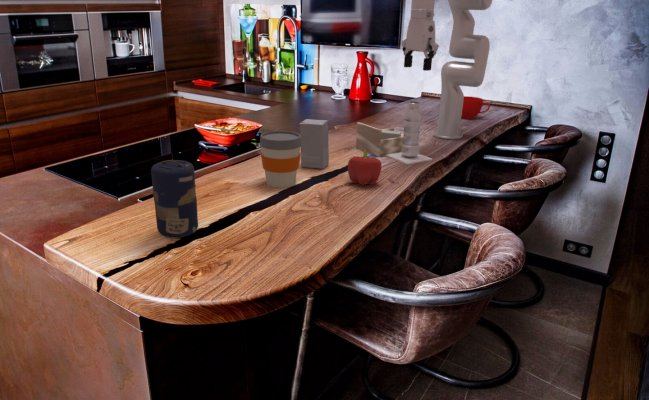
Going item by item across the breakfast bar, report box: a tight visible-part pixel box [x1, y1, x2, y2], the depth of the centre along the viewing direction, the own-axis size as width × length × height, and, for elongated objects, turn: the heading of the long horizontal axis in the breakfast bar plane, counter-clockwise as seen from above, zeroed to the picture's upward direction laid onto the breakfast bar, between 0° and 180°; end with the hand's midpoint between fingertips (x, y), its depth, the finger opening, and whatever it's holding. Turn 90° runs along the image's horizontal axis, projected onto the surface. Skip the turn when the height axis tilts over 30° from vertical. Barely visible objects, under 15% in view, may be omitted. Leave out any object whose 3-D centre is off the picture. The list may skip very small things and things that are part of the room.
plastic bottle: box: [401, 100, 423, 157], centre depth 178 cm, size 6×7×20 cm
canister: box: [150, 159, 199, 239], centre depth 115 cm, size 10×10×18 cm
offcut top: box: [381, 130, 402, 139], centre depth 192 cm, size 4×8×2 cm, turn 73°
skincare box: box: [299, 118, 330, 170], centre depth 167 cm, size 8×7×16 cm
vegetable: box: [347, 149, 382, 185], centre depth 153 cm, size 11×10×10 cm
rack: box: [355, 121, 403, 158], centre depth 191 cm, size 19×14×10 cm
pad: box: [385, 152, 433, 166], centre depth 182 cm, size 12×12×1 cm
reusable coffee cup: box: [259, 130, 302, 189], centre depth 150 cm, size 13×13×15 cm
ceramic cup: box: [461, 95, 491, 120], centre depth 250 cm, size 13×17×10 cm
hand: (417, 68), depth 170 cm, fingers open, 9 cm apart
